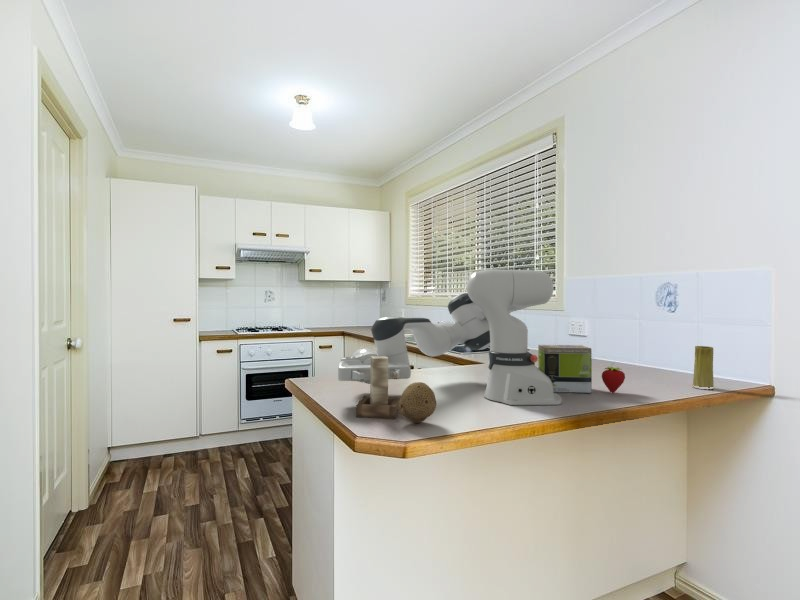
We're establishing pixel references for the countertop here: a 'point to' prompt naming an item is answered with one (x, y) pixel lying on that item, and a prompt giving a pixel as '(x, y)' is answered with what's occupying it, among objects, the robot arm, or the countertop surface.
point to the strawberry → (613, 378)
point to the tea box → (567, 367)
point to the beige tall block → (379, 380)
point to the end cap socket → (377, 408)
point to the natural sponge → (417, 402)
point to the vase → (703, 367)
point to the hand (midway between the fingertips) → (379, 376)
